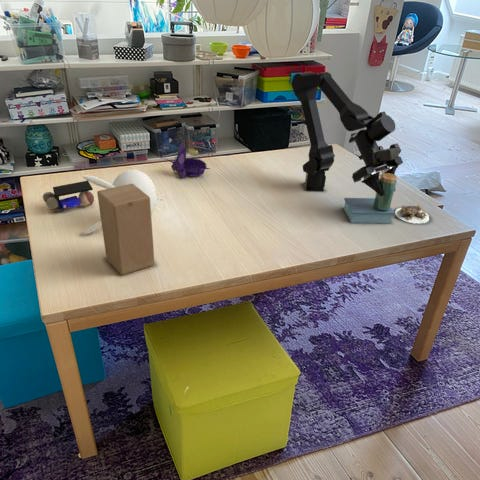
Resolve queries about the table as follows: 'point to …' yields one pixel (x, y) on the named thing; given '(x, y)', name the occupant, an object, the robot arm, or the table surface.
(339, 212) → the table surface
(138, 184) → the stuffed toy
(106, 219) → the wooden block
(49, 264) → the table surface
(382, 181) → the canister
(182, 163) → the creature
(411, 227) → the table surface
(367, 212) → the slate blue base plate
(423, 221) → the frog figurine
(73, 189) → the toy car
